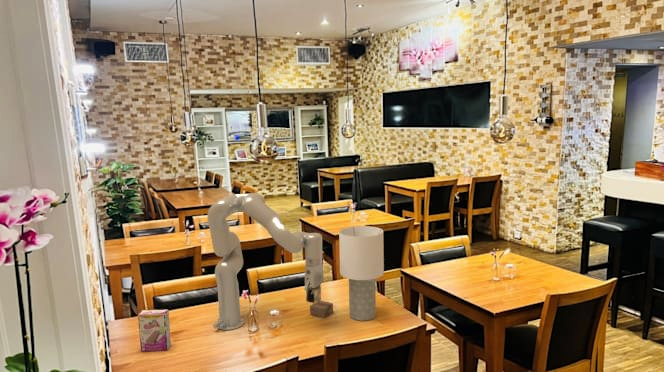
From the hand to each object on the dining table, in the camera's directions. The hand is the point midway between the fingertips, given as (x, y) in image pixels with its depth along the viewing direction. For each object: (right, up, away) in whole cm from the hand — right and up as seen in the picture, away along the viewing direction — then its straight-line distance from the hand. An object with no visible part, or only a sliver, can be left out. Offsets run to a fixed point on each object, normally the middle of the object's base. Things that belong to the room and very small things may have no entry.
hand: (313, 299), depth 203 cm
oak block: (0, -1, 0) cm, 1 cm away
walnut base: (+3, -11, +15) cm, 19 cm away
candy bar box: (-65, -17, -15) cm, 69 cm away
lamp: (+23, -11, +12) cm, 28 cm away
